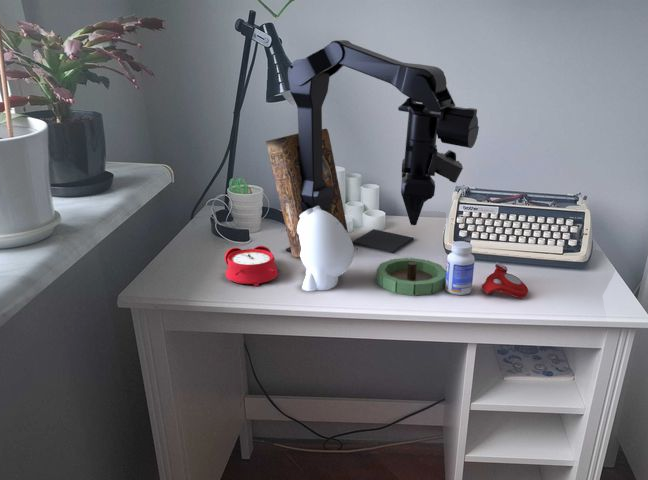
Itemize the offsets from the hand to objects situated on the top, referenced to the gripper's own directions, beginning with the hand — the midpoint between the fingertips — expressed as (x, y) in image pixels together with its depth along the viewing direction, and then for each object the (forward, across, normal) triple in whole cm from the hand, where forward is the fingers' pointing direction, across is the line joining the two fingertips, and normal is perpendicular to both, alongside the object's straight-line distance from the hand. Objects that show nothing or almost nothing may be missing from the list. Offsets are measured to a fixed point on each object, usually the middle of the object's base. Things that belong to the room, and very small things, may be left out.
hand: (413, 217), depth 128 cm
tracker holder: (+12, -6, -20) cm, 24 cm away
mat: (+13, +19, +6) cm, 23 cm away
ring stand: (+12, -4, -1) cm, 13 cm away
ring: (+12, -4, -1) cm, 13 cm away
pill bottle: (+12, -8, -10) cm, 17 cm away
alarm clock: (+14, -4, +32) cm, 35 cm away
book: (+13, +12, +20) cm, 27 cm away
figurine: (+13, -6, +17) cm, 22 cm away
